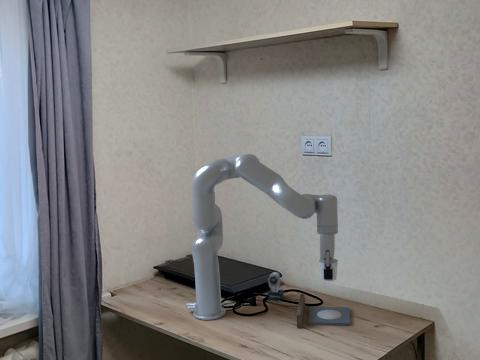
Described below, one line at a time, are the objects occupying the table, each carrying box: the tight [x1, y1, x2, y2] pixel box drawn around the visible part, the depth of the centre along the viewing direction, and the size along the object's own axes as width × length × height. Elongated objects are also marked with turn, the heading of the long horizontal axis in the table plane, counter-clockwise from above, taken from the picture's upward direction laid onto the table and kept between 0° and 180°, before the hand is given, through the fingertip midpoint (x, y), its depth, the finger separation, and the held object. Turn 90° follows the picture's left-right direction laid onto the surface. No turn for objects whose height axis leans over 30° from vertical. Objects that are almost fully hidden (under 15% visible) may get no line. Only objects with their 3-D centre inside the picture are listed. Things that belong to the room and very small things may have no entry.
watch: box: [267, 271, 285, 302], centre depth 222 cm, size 6×8×11 cm
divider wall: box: [296, 292, 306, 329], centre depth 202 cm, size 2×22×5 cm, turn 170°
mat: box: [307, 306, 351, 327], centre depth 201 cm, size 15×15×1 cm
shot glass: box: [318, 258, 338, 282], centre depth 198 cm, size 7×7×7 cm
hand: (328, 275), depth 199 cm, fingers closed on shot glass, 6 cm apart
